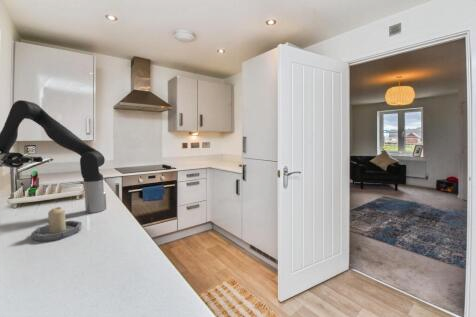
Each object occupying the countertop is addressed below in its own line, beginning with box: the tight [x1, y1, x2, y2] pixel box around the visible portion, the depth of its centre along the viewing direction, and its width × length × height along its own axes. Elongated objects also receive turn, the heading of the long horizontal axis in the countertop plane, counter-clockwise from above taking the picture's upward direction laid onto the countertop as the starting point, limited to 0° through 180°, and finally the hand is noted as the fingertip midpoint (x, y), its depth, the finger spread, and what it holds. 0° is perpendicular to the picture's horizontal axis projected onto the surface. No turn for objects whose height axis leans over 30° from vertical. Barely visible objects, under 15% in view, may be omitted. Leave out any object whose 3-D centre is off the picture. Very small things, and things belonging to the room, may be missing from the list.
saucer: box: [30, 220, 83, 242], centre depth 100 cm, size 16×16×2 cm
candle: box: [47, 207, 66, 233], centre depth 99 cm, size 6×6×10 cm
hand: (31, 160), depth 112 cm, fingers open, 8 cm apart
